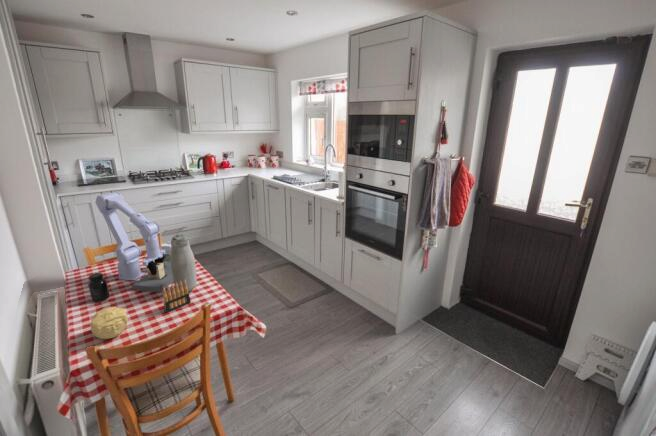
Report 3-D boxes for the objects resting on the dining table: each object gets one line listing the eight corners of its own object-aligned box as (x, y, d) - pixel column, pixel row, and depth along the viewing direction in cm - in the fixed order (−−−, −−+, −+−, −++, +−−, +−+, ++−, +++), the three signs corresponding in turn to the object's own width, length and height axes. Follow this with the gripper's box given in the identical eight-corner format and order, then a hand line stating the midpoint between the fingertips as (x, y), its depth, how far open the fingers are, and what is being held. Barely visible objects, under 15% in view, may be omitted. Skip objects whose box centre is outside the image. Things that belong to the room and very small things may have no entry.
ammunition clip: (166, 313, 136) (162, 288, 133) (164, 311, 138) (160, 287, 134) (190, 303, 144) (187, 279, 140) (188, 301, 145) (185, 277, 141)
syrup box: (180, 265, 178) (176, 241, 174) (174, 270, 173) (170, 245, 168) (170, 265, 179) (166, 241, 174) (164, 270, 173) (160, 245, 169)
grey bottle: (201, 289, 155) (195, 235, 146) (180, 297, 148) (172, 241, 139) (192, 282, 161) (185, 230, 153) (171, 290, 154) (163, 235, 145)
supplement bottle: (113, 296, 148) (108, 272, 145) (99, 304, 142) (93, 280, 138) (102, 293, 150) (97, 270, 147) (88, 301, 144) (82, 277, 141)
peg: (148, 278, 159) (146, 265, 157) (154, 274, 163) (151, 261, 161) (160, 279, 158) (157, 266, 156) (165, 275, 162) (162, 262, 160)
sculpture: (99, 348, 116) (92, 322, 113) (89, 333, 123) (83, 309, 120) (133, 333, 124) (128, 309, 121) (123, 320, 132) (118, 297, 128)
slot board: (133, 289, 154) (132, 284, 153) (156, 272, 171) (156, 267, 170) (160, 292, 152) (159, 287, 151) (181, 274, 169) (180, 269, 168)
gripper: (150, 253, 148) (155, 280, 152) (169, 242, 162) (173, 266, 166) (136, 252, 149) (141, 279, 153) (156, 241, 163) (160, 265, 167)
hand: (157, 272), depth 160 cm, fingers closed on peg, 4 cm apart
